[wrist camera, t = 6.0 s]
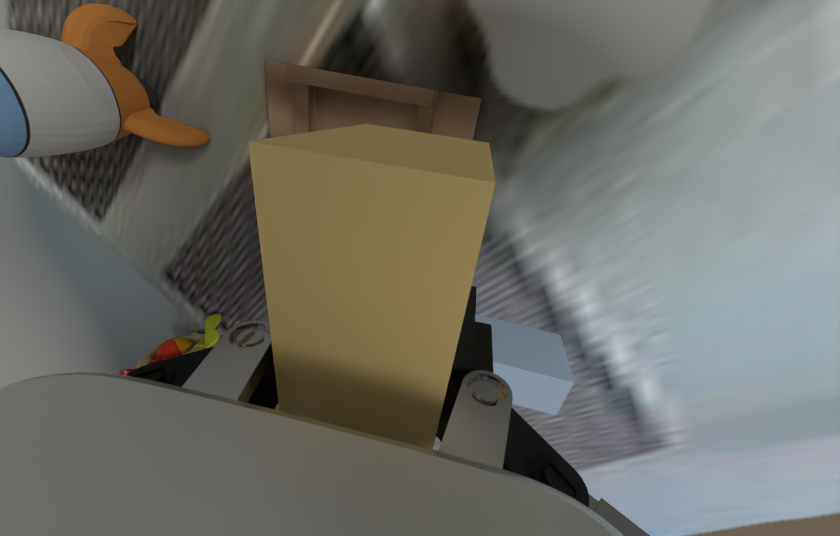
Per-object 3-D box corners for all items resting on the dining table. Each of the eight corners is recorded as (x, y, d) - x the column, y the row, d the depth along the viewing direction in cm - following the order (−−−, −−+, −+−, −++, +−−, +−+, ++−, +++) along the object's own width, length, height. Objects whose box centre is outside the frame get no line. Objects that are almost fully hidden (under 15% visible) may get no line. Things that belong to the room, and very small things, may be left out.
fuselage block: (366, 123, 10) (188, 150, 4) (489, 142, 10) (499, 204, 4) (355, 383, 16) (271, 564, 10) (433, 402, 16) (399, 603, 9)
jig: (271, 60, 24) (242, 55, 21) (481, 98, 22) (480, 98, 20) (287, 341, 38) (271, 360, 35) (420, 376, 36) (414, 399, 33)
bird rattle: (224, 343, 43) (256, 358, 38) (126, 406, 36) (149, 436, 30) (200, 304, 41) (230, 314, 35) (89, 363, 33) (106, 387, 28)
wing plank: (456, 308, 31) (449, 350, 26) (559, 334, 30) (574, 382, 25) (447, 339, 33) (439, 384, 28) (545, 364, 32) (555, 415, 27)
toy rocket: (133, 150, 31) (-180, 129, 17) (120, 21, 27) (-286, -135, 14) (217, 172, 29) (-69, 167, 15) (214, 33, 25) (-163, -141, 11)
